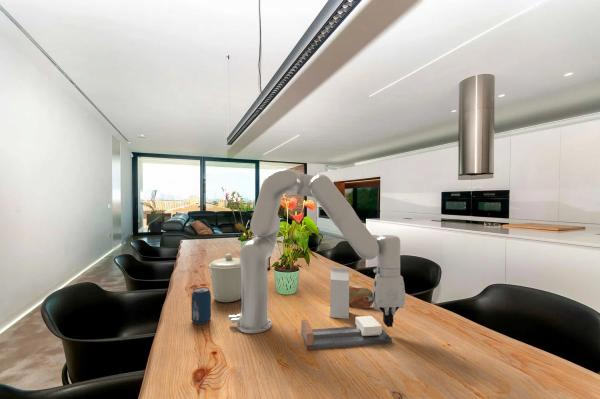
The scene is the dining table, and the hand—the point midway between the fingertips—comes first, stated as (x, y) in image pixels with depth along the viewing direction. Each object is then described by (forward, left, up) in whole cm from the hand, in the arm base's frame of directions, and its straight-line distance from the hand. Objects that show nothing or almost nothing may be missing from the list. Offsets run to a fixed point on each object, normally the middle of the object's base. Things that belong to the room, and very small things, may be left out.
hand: (388, 325), depth 95 cm
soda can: (-65, +21, -4) cm, 69 cm away
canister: (-57, +44, -4) cm, 72 cm away
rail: (-15, 0, -4) cm, 16 cm away
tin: (-1, +27, -4) cm, 27 cm away
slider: (-7, 0, -2) cm, 7 cm away
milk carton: (-11, +19, -4) cm, 22 cm away
